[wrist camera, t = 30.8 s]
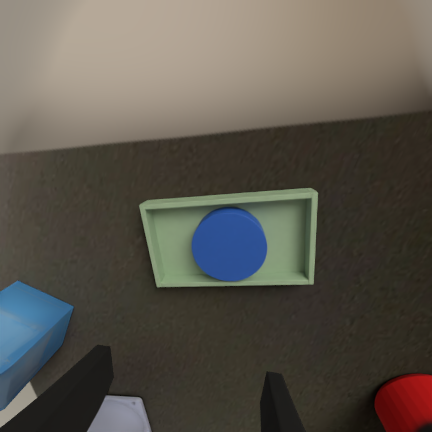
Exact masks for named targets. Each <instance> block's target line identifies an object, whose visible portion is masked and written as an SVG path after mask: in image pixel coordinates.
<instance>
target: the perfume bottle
mask: <svg viewBox="0 0 432 432" xmlns="http://www.w3.org/2000/svg"><path fill="white" fill-rule="evenodd" d="M73 307H74V306H72V305H70V304H68V303H65V302H63V301H61V300H59V299H57V298H54V297H52V296H50V295H48V294H46V293H44V292H41V291H39V290H37V289H35V288H33V287H30V286H28V285H26V284H24V283H22V282H19V281H17V282H15V283H14V284H12V285H10V286H9V287H7V288H5V289H4V290H2V291H0V411H1V410H3V409H5V408H6V407H7V405H8V404H9V403H10V402H11V401H12V400H13V399H14V398H15V397H16V396H17V394H18V393H19V392H20V391H21V390H22V389H23V388H24V387H25V386H26V384H27V383H28V382H29V381H30V380H31V379H32V378H33V377H34V376H35V374H36V373H37V372H38V371H39V370H40V369H41V368H42V367H43V366H44V364H45V363H46V362H47V361H48V360H49V359H50V358H51V357H52V356H53V354H54V353H55V352H56V351H57V350H58V349H59V348H60V347H61V346H62V344H63V341H64V337H65V334H66V331H67V327H68V324H69V321H70V317H71V314H72V311H73Z"/></svg>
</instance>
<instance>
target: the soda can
mask: <svg viewBox="0 0 432 432" xmlns="http://www.w3.org/2000/svg"><path fill="white" fill-rule="evenodd" d="M375 410H376V413H377V414H378V416H379V418H380V420H381V422H382V424H383V426H384V428H385V430H386V432H432V375H429V374H408V375H403V376H399V377H396V378H394V379H392V380H390V381H388V382H387V383H385V384H384V385H383V386H382V387H381V388H380V389H379V390H378V392H377V394H376V398H375Z"/></svg>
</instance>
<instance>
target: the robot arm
mask: <svg viewBox="0 0 432 432" xmlns="http://www.w3.org/2000/svg"><path fill="white" fill-rule="evenodd" d="M113 378H114V375H113V366H112V358H111V349H110V347H109V346H103V345H97V346H95V347H94V348H93V349H92V350H91V351H90V352H89V353H88V354H87V355H85V356H84V357H83V358H82V359H81V360H80V361H79V362H78V363H77V364H76V365H74V366H73V367H72V368H71V369H70V370H69V371H68V372H67V373H65V374H64V375H63V376H62V377H61V378H60V379H59V380H57V381H56V382H55V383H54V384H53V385H52V386H51V387H49V388H48V389H47V390H46V391H45V392H44V393H42V394H41V395H40V396H39V397H38V398H37V399H35V400H34V401H33V402H32V403H30V404H29V405H28V406H27V407H26V408H25V409H23V410H22V411H21V412H19V413H18V414H17V415H16V416H15V417H13V418H12V419H11V420H10V421H8V422H7V423H6V424H5V425H3V426H2V427H1V428H0V432H152V431H151V427H150V424H149V421H148V417H147V414H146V411H145V407H144V404H143V401H142V399H141V398H140V397H128V396H110V395H106V394H107V392H108V390H109V388H110V385H111V383H112V381H113ZM260 412H261V432H306V431H305V429H304V427H303V424H302V422H301V420H300V418H299V415H298V413H297V411H296V408H295V406H294V404H293V401H292V399H291V396H290V394H289V391H288V389H287V386H286V383H285V381H284V378H283V376H282V374H279V373H273V372H267V373H266V377H265V382H264V387H263V392H262V396H261V401H260Z"/></svg>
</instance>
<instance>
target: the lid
mask: <svg viewBox="0 0 432 432" xmlns="http://www.w3.org/2000/svg"><path fill="white" fill-rule="evenodd" d="M192 253H193V257H194V259H195V261H196V263H197V265H198V266H199V267H200V268H201V269H202V270H203V271H204V272H205V273H206V274H208V275H210V276H211V277H213V278H216V279H219V280H223V281H239V280H243V279H245V278H248V277H250V276H252V275H253V274H254V273H256V272H257V271H258V270H259V269H260V267H261V266H262V265H263V263H264V261H265V259H266V255H267V241H266V237H265V234H264V231H263V228H262V226H261V224H260V222H259V221H258V220H257V218H256V217H255V216H253V215H252V214H251V213H249V212H248V211H246V210H244V209H241V208H237V207H222V208H218V209H215V210H213V211H211V212H210V213H208V214H207V215H206V216H205V217H204V218H203V219H202V220H201V222H200V223H199V225H198V227H197V229H196V231H195V233H194V235H193V238H192Z"/></svg>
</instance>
